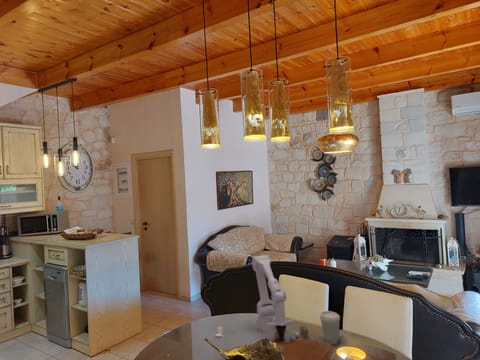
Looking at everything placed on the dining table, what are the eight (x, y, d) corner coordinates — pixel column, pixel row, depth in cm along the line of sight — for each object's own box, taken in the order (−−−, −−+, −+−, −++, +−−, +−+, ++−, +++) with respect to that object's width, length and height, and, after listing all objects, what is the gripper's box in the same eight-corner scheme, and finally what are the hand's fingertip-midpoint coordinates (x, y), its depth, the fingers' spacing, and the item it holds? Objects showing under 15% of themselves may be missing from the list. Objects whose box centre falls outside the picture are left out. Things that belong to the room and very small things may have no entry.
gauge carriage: (287, 343, 178) (286, 335, 178) (282, 338, 185) (281, 330, 185) (302, 340, 180) (302, 333, 180) (297, 335, 187) (297, 328, 187)
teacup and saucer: (219, 339, 192) (219, 332, 192) (209, 336, 197) (209, 329, 197) (229, 333, 199) (229, 326, 199) (219, 330, 204) (219, 324, 204)
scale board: (279, 348, 176) (278, 336, 176) (271, 339, 187) (271, 328, 188) (311, 343, 180) (310, 331, 180) (301, 334, 192) (301, 323, 192)
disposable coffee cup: (344, 339, 182) (342, 311, 183) (338, 348, 173) (337, 318, 174) (324, 336, 188) (323, 309, 188) (318, 344, 178) (316, 315, 179)
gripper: (269, 317, 177) (270, 344, 177) (294, 314, 181) (296, 339, 180) (265, 313, 184) (266, 338, 184) (290, 309, 187) (291, 334, 187)
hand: (281, 338), depth 182 cm, fingers closed
